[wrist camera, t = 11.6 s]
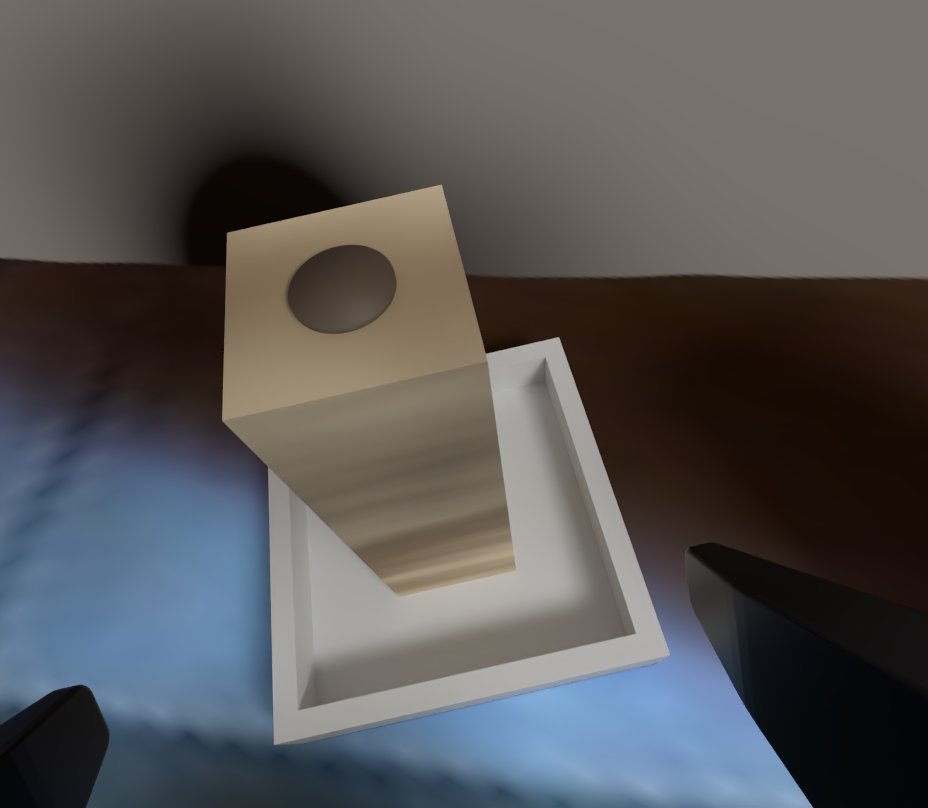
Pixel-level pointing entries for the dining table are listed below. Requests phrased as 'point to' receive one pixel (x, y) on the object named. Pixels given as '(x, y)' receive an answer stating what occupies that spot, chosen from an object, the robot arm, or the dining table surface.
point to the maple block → (371, 385)
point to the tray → (466, 585)
